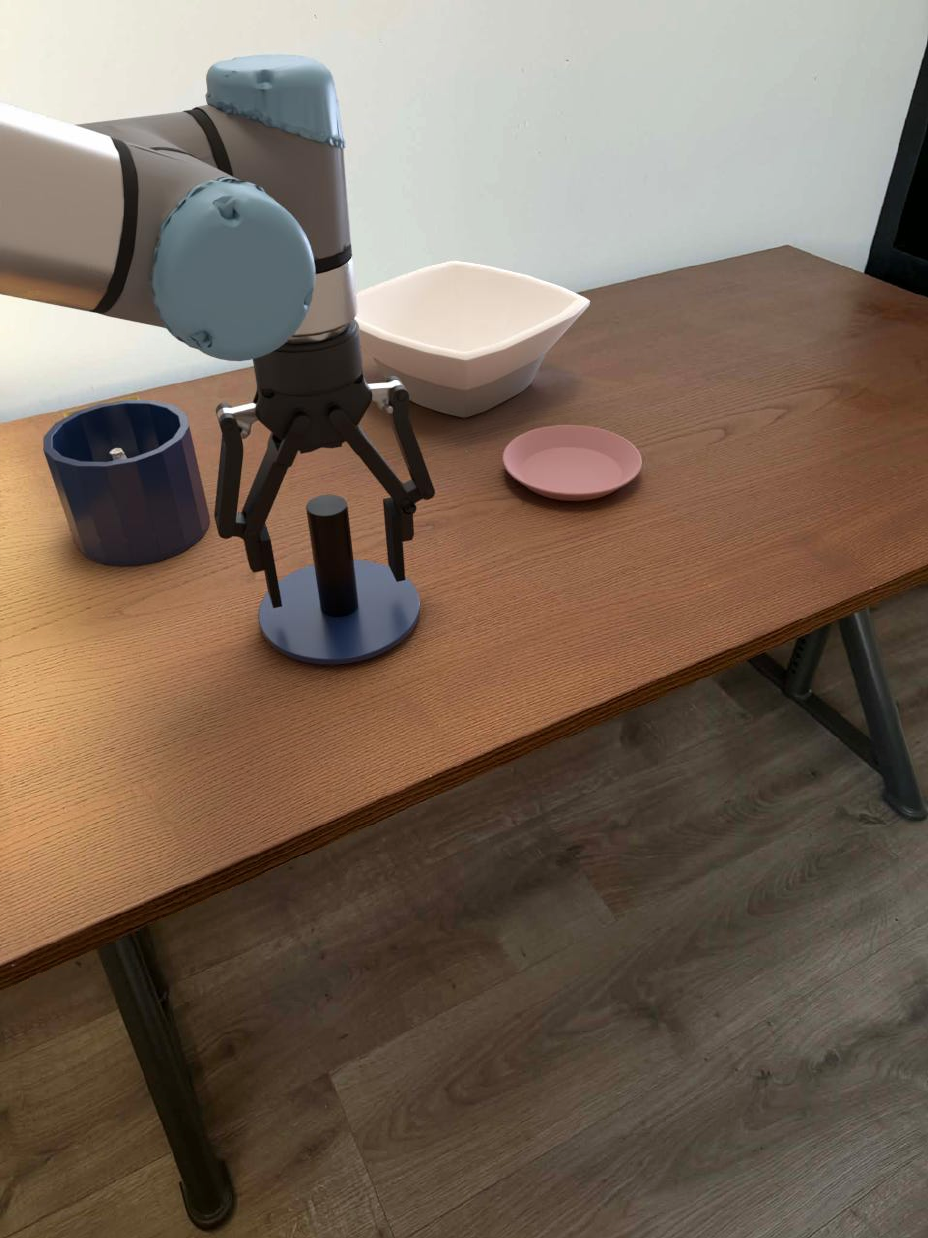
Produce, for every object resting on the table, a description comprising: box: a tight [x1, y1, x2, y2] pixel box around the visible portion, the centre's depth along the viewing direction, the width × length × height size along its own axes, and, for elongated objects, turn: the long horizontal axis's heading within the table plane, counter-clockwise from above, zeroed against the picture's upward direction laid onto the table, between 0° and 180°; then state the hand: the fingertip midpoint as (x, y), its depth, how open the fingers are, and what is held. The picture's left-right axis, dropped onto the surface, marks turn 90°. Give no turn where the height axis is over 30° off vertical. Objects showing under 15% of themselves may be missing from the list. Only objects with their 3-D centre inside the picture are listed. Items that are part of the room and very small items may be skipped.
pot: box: [42, 399, 211, 567], centre depth 87 cm, size 13×13×10 cm
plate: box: [501, 424, 643, 502], centre depth 97 cm, size 14×14×2 cm
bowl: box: [354, 260, 591, 419], centre depth 111 cm, size 24×25×10 cm
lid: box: [257, 494, 421, 666], centre depth 76 cm, size 14×14×11 cm
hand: (336, 584), depth 78 cm, fingers open, 10 cm apart
